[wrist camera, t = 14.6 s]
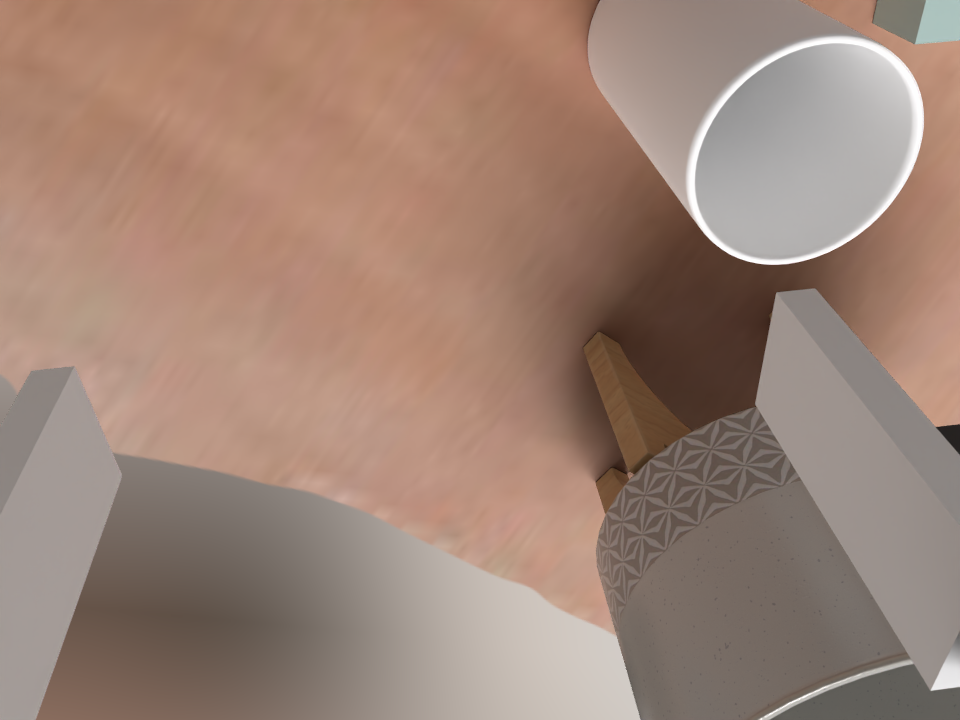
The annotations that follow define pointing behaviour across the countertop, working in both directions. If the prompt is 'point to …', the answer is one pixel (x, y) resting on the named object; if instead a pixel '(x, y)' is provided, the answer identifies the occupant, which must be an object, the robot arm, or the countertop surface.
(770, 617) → the planter
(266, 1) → the countertop surface
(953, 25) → the bead
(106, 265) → the countertop surface
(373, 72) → the countertop surface
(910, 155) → the cup
